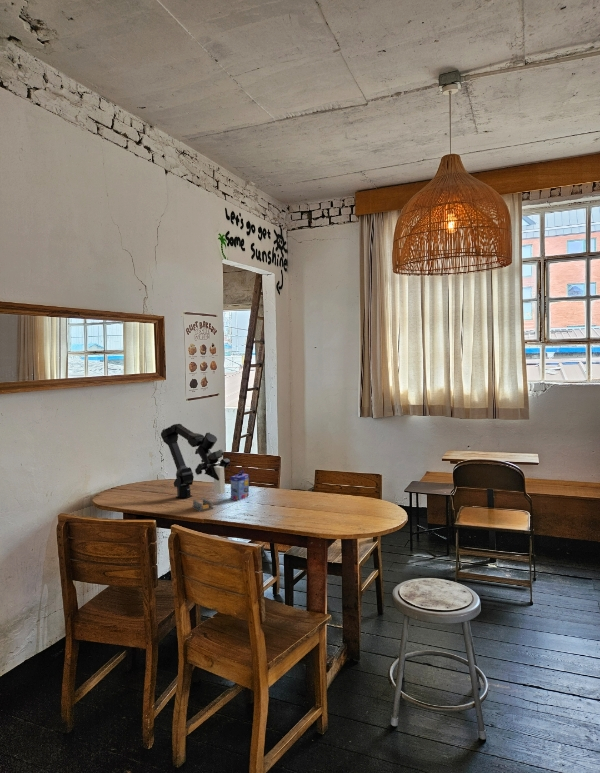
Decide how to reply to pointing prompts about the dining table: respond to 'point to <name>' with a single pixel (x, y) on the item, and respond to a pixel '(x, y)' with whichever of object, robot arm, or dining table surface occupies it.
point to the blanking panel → (219, 485)
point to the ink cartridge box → (239, 486)
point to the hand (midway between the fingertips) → (220, 479)
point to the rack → (202, 505)
